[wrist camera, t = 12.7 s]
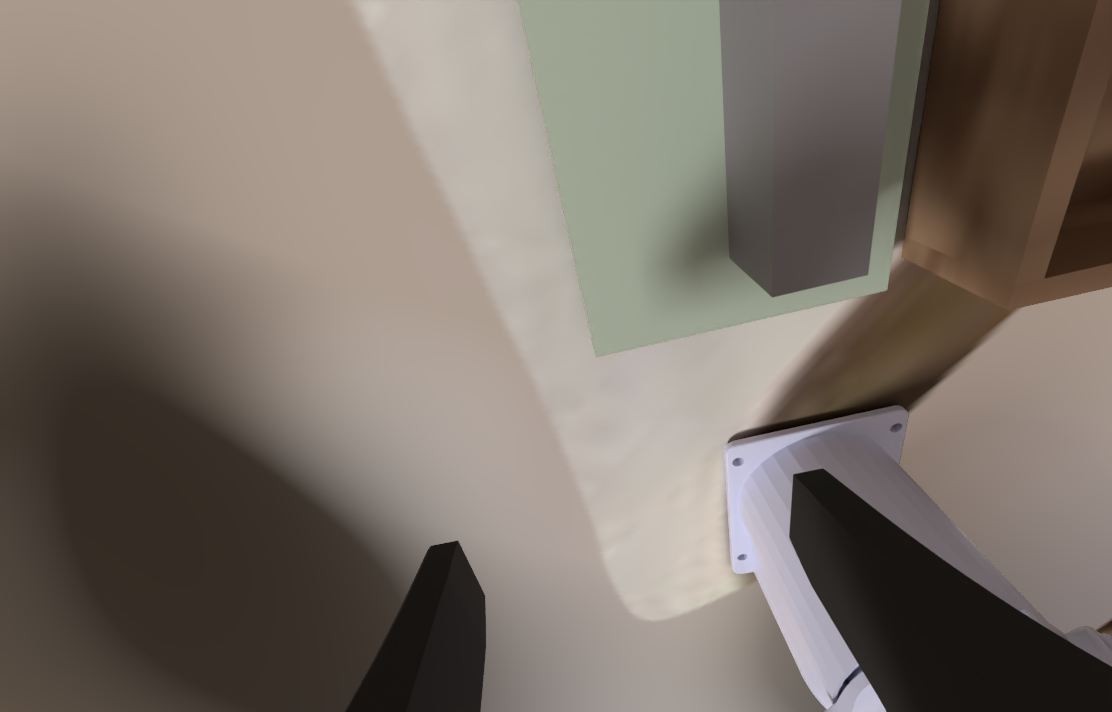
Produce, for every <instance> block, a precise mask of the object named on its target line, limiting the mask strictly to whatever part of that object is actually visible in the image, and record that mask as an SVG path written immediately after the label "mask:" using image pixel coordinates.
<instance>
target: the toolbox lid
mask: <svg viewBox="0 0 1112 712" xmlns="http://www.w3.org/2000/svg"><path fill="white" fill-rule="evenodd" d="M929 3H930V0H518V5H519V9H520V14H521V19H522V23H523V28H524V32H525V37H526V42H527V46H528V51H529V55H530V60H531V64H532V69H533V74H534V78H535V83H536V87H537V92H538V97H539V101H540V106H541V110H542V115H543V120H544V124H545V129H546V133H547V138H548V142H549V147H550V152H551V156H552V161H553V165H554V170H555V175H556V179H557V184H558V188H559V193H560V198H561V202H562V207H563V211H564V216H565V220H566V225H567V230H568V234H569V239H570V243H571V248H572V253H573V257H574V262H575V266H576V271H577V276H578V280H579V285H580V289H581V294H582V298H583V303H584V308H585V312H586V317H587V321H588V326H589V331H590V335H591V340H592V344H593V347H594V351H595V355H596V357H600V356H605V355H609V354H613V353H618V352H622V351H626V350H631V349H635V348H639V347H644V346H648V345H652V344H657V343H661V342H665V341H670V340H674V339H678V338H683V337H687V336H691V335H696V334H700V333H704V332H709V331H713V330H717V329H722V328H726V327H730V326H735V325H739V324H743V323H748V322H752V321H756V320H761V319H765V318H769V317H774V316H778V315H782V314H787V313H791V312H795V311H800V310H804V309H808V308H813V307H817V306H821V305H826V304H830V303H834V302H839V301H843V300H847V299H852V298H856V297H860V296H865V295H869V294H873V293H878V292H882V291H886V290H887V288H888V281H889V274H890V267H891V261H892V254H893V247H894V240H895V233H896V227H897V220H898V213H899V206H900V199H901V193H902V186H903V179H904V172H905V165H906V159H907V152H908V145H909V138H910V132H911V125H912V118H913V111H914V104H915V98H916V91H917V84H918V77H919V70H920V64H921V57H922V50H923V43H924V36H925V30H926V23H927V16H928V9H929Z"/></svg>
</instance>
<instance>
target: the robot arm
mask: <svg viewBox="0 0 1112 712" xmlns="http://www.w3.org/2000/svg"><path fill="white" fill-rule="evenodd" d="M908 417H909V414H908V412H907V411H906V410H905V409H904V408H903V407H902V406H899V405H896V406H890V407H886V408H881V409H876V410H872V411H867V412H863V413H858V414H854V415H849V416H844V417H840V418H835V419H831V420H826V421H821V422H817V423H812V424H808V425H803V426H799V427H794V428H789V429H785V430H780V431H776V432H771V433H767V434H762V435H757V436H753V437H748V438H744V439H739V440H735V441H732V442H730V443H728V444H727V445H726V446H725V448H724V461H725V477H726V492H727V508H728V523H729V539H730V555H731V566H732V568H733V570H734V572H735V573H737V574H744V573H749V572H754V573H755V575H756V578H757V580H758V582H759V584H760V586H761V588H762V590H763V593H764V595H765V597H766V599H767V601H768V603H769V606H770V608H771V610H772V612H773V614H774V616H775V618H776V621H777V623H778V625H779V627H780V629H781V631H782V633H783V635H784V638H785V640H786V642H787V644H788V646H789V648H790V651H791V653H792V655H793V657H794V659H795V661H796V664H797V666H798V668H799V670H800V672H801V674H802V676H803V678H804V680H805V682H806V683H807V685H808V687H809V688H810V690H811V691H812V693H813V694H814V695H815V697H816V698H817V699H818V700H819V702H820V703H821V704H822V705H823V706H824V707H825V708H826V709H827V710H826V711H824V712H1112V635H1110V634H1106V633H1099V632H1098V631H1096V630H1094V629H1093V628H1090V627H1087V626H1084V627H1079V628H1077V629H1075V630H1073V631H1071V632H1069V633H1067V634H1066V635H1065V634H1064V633H1062V632H1061V631H1059V630H1058V629H1057V628H1055V627H1053V626H1052V625H1051V624H1049V623H1048V622H1047V621H1046V620H1045V619H1044V618H1043V617H1042V615H1041V614H1040V613H1038V611H1037V610H1036V609H1035V608H1034V607H1033V606H1032V605H1031V604H1030V603H1029V602H1028V601H1027V600H1026V599H1025V597H1024V596H1023V595H1022V594H1021V593H1020V592H1019V591H1018V590H1017V589H1016V588H1015V587H1014V586H1013V585H1012V584H1011V583H1010V582H1009V581H1008V580H1007V579H1006V577H1005V576H1004V575H1003V574H1002V573H1001V572H1000V571H999V570H998V569H997V568H996V567H995V566H994V565H993V564H992V563H991V562H990V561H989V560H988V559H987V557H986V556H985V555H984V554H983V553H982V552H981V551H980V550H979V549H978V548H977V547H976V546H975V545H974V544H973V543H972V542H971V541H970V539H969V538H968V537H967V536H965V534H964V533H963V532H962V531H961V530H960V529H959V528H958V527H957V526H956V525H955V524H954V523H953V522H952V521H951V519H950V518H949V517H948V516H947V515H946V514H945V513H944V512H943V511H942V510H941V509H940V508H939V507H938V506H937V505H936V504H935V503H934V502H933V501H932V499H931V498H930V497H929V496H928V495H927V494H926V493H925V492H924V491H923V490H922V489H921V488H920V487H919V486H918V485H917V484H916V483H915V482H914V480H913V479H912V478H911V477H910V476H909V475H908V474H907V473H906V472H905V471H904V470H903V469H902V468H901V467H900V466H899V462H900V457H901V452H902V447H903V442H904V437H905V432H906V427H907V422H908ZM736 458H738V459H737V460H735V459H736ZM485 615H486V614H485V595H484V593H483V591H482V589H481V586H480V585H479V582H478V580H477V578H476V576H475V574H474V572H473V570H472V568H471V566H470V564H469V562H468V560H467V558H466V556H465V554H464V552H463V550H462V548H461V546H460V544H459V542H458V541H454V542H449V543H444V544H439V545H434V546H431V547H430V548H429V549H428V551H427V553H426V556H425V557H424V559H423V562H422V564H421V566H420V568H419V570H418V573H417V574H416V577H415V579H414V581H413V583H412V585H411V587H410V590H409V591H408V594H407V596H406V598H405V600H404V602H403V604H402V606H401V608H400V610H399V612H398V614H397V616H396V618H395V620H394V622H393V624H392V626H391V628H390V630H389V632H388V634H387V635H386V638H385V639H384V641H383V643H382V645H381V647H380V649H379V651H378V653H377V655H376V657H375V659H374V661H373V662H372V664H371V666H370V668H369V669H368V671H367V673H366V675H365V677H364V678H363V680H362V682H361V684H360V686H359V687H358V689H357V691H356V692H355V694H354V696H353V698H352V700H351V701H350V703H349V705H348V707H347V709H346V710H345V712H480V709H481V698H482V687H483V675H484V663H485V650H486V616H485Z"/></svg>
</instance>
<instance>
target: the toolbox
mask: <svg viewBox="0 0 1112 712" xmlns="http://www.w3.org/2000/svg"><path fill="white" fill-rule="evenodd" d="M901 257H902V258H904V259H906V260H908V261H910V262H912V263H914V264H916V265H918V266H920V267H922V268H924V269H926V270H928V271H930V272H932V273H934V274H936V275H938V276H940V277H942V278H944V279H946V280H948V281H950V282H952V283H954V284H956V285H958V286H960V287H962V288H964V289H966V290H968V291H970V292H972V293H974V294H976V295H978V296H979V297H981V298H983V299H985V300H987V301H989V302H991V303H993V304H995V305H997V306H999V307H1001V308H1003V309H1005V310H1012V309H1016V308H1021V307H1025V306H1029V305H1034V304H1038V303H1043V302H1046V301H1051V300H1056V299H1060V298H1065V297H1069V296H1073V295H1078V294H1082V293H1086V292H1091V291H1095V290H1100V289H1104V288H1109V287H1112V0H941V2H940V8H939V15H938V21H937V28H936V34H935V41H934V47H933V54H932V60H931V67H930V73H929V80H928V87H927V93H926V100H925V106H924V113H923V119H922V126H921V132H920V139H919V145H918V152H917V158H916V165H915V171H914V178H913V184H912V191H911V198H910V204H909V211H908V217H907V224H906V230H905V237H904V243H903V250H902V256H901Z"/></svg>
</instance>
